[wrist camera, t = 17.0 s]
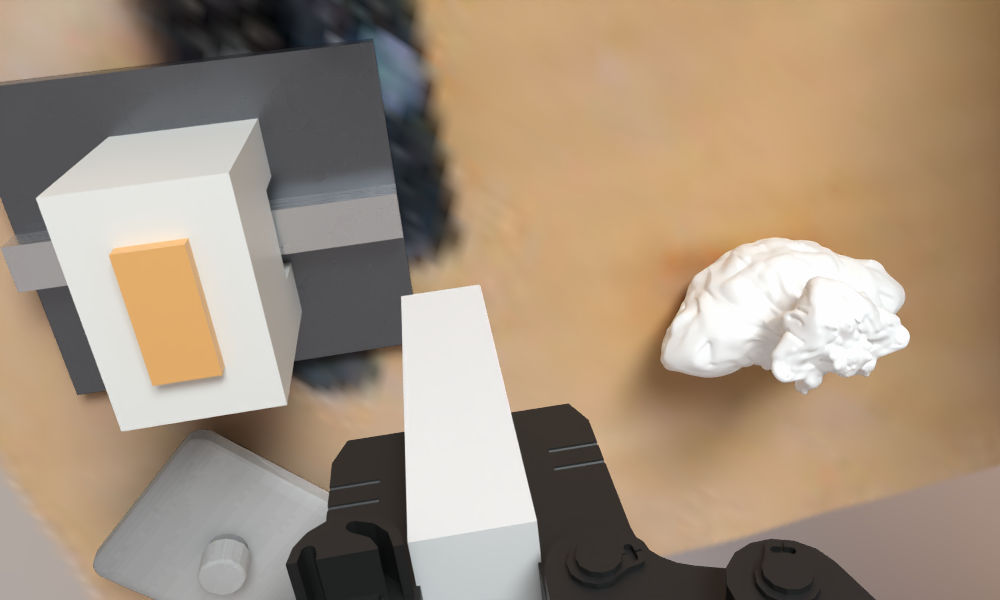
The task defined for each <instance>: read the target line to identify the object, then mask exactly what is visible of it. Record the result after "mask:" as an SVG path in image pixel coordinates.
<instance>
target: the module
mask: <svg viewBox="0 0 1000 600" xmlns="http://www.w3.org/2000/svg"><path fill="white" fill-rule="evenodd" d="M270 179H271V173H270V168H269V164H268V160H267V155H266V151H265V146H264V142H263V138H262V133H261V129H260V124H259V120H258V118H257V119H249V120H241V121H233V122H225V123H217V124H209V125H201V126H193V127H185V128H177V129H169V130H161V131H153V132H145V133H137V134H129V135H121V136H113V137H108V138H107V139H105V140H104V141H103V142H102V143H101V144H99V145H98V146H97V147H96V148H95V149H94V150H92V151H91V152H90V153H89V154H88V155H86V156H85V157H84V158H83V159H82V160H80V161H79V162H78V163H77V164H76V165H75V166H73V167H72V168H71V169H70V170H69V171H67V172H66V173H65V174H64V175H63V176H61V177H60V178H59V179H58V180H57V181H55V182H54V183H53V184H52V185H51V186H50V187H48V188H47V189H46V190H45V191H44V192H42V193H41V194H40V195H39V196H38V197H36V200H37V203H38V206H39V208H40V211H41V214H42V217H43V219H44V222H45V225H46V227H47V230H48V233H49V236H50V238H51V241H52V244H53V246H54V249H55V252H56V255H57V257H58V260H59V263H60V265H61V268H62V271H63V274H64V276H65V279H66V282H67V285H68V287H69V290H70V293H71V295H72V298H73V301H74V304H75V306H76V309H77V312H78V314H79V317H80V320H81V323H82V325H83V328H84V331H85V333H86V336H87V339H88V342H89V344H90V347H91V350H92V353H93V355H94V358H95V361H96V363H97V366H98V369H99V372H100V374H101V377H102V380H103V382H104V385H105V388H106V391H107V393H108V396H109V399H110V401H111V404H112V407H113V410H114V412H115V415H116V418H117V421H118V423H119V426H120V429H121V431H128V430H134V429H141V428H147V427H153V426H159V425H165V424H172V423H178V422H184V421H190V420H197V419H203V418H209V417H215V416H222V415H228V414H234V413H240V412H246V411H253V410H259V409H265V408H271V407H278V406H284V405H287V402H288V396H289V390H290V384H291V377H292V371H293V365H294V358H295V352H296V346H297V339H298V333H299V327H300V321H301V314H302V309H301V305H300V300H299V296H298V292H297V287H296V283H295V278H294V274H293V270H292V265H291V262H287V263H283V261H282V257H281V252H280V248H279V244H278V239H277V235H276V231H275V226H274V222H273V218H272V213H271V209H270V205H269V200H268V196H267V192H266V190H267V187H268V184H269V181H270Z"/></svg>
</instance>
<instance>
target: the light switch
mask: <svg viewBox="0 0 1000 600" xmlns="http://www.w3.org/2000/svg"><path fill="white" fill-rule="evenodd" d="M328 497H329V493H328V492H326V491H325V490H323V489H321V488H319V487H317V486H315V485H313V484H312V483H310V482H308V481H306V480H304V479H302V478H300V477H298V476H296V475H294V474H293V473H291V472H289V471H287V470H285V469H283V468H281V467H279V466H277V465H276V464H274V463H272V462H270V461H268V460H266V459H264V458H262V457H260V456H259V455H257V454H255V453H253V452H251V451H249V450H247V449H245V448H243V447H241V446H239V445H237V444H235V443H233V442H232V441H230V440H228V439H226V438H224V437H222V436H220V435H219V434H217V433H215V432H213V431H211V430H205V429H200V430H197V431H194V432H190V433H189V435H188V436H187V437H186V438H185V440H184V441H183V442H182V444H181V445H180V446H179V447H178V449H177V450H176V451H175V452H174V454H173V455H172V456H171V457H170V459H169V460H168V461H167V463H166V464H165V465H164V466H163V468H162V469H161V470H160V471H159V473H158V474H157V475H156V477H155V478H154V479H153V480H152V482H151V483H150V484H149V485H148V487H147V488H146V489H145V490H144V492H143V493H142V494H141V496H140V497H139V498H138V499H137V501H136V502H135V503H134V504H133V506H132V507H131V508H130V510H129V511H128V512H127V513H126V515H125V516H124V517H123V518H122V520H121V521H120V522H119V523H118V525H117V526H116V527H115V529H114V530H113V531H112V532H111V534H110V535H109V536H108V537H107V539H106V540H105V541H104V543H103V544H102V545H101V546H100V548H99V549H98V550H97V553H96V556H95V559H94V563H93V567H94V569H95V571H96V572H97V573H98V574H99V575H100V576H102V577H104V578H106V579H108V580H111V581H113V582H115V583H117V584H119V585H122V586H124V587H126V588H129V589H131V590H133V591H136V592H138V593H140V594H143V595H145V596H147V597H150V598H152V599H155V600H296V598H295V594H294V591H293V588H292V585H291V581H290V578H289V575H288V571H287V568H286V562H287V560H288V557H289V555H290V553H291V550H292V548H293V547H294V546H295V545H296V544H297V543H298V541H299V540H300V539H301V538H302V537H303V536H304V535H305V534H306V533H307V532H309V531H310V530H312V529H314V528H316V527H317V526H319V525H321V524H322V523H324V522H326V516H327V511H328Z"/></svg>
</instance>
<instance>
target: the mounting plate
mask: <svg viewBox="0 0 1000 600" xmlns="http://www.w3.org/2000/svg"><path fill="white" fill-rule="evenodd" d="M257 118H258V120H259V124H260V129H261V133H262V138H263V142H264V146H265V151H266V155H267V160H268V164H269V168H270V173H271V179H270V181H269V184H268V187H267V190H266V192H267V196H268V200H269V205H270V209H271V213H272V218H273V222H274V226H275V231H276V235H277V239H278V244H279V248H280V252H281V257H282V261H283V263H287V262H291V265H292V270H293V274H294V278H295V283H296V287H297V292H298V296H299V300H300V305H301V309H302V314H301V321H300V327H299V333H298V339H297V346H296V352H295V358H294V361H299V360H305V359H312V358H318V357H325V356H331V355H337V354H344V353H350V352H357V351H363V350H370V349H376V348H382V347H389V346H395V345H402V310H401V296H407V295H413V292H412V286H411V279H410V273H409V267H408V260H407V254H406V248H405V241H404V235H403V228H402V222H401V216H400V209H399V203H398V196H397V190H396V184H395V177H394V171H393V165H392V158H391V152H390V145H389V139H388V133H387V126H386V120H385V113H384V107H383V101H382V94H381V88H380V82H379V75H378V69H377V62H376V56H375V50H374V43H373V39H365V40H356V41H348V42H339V43H331V44H322V45H314V46H305V47H297V48H288V49H280V50H271V51H263V52H254V53H246V54H237V55H229V56H220V57H211V58H203V59H194V60H186V61H177V62H169V63H160V64H152V65H143V66H135V67H126V68H118V69H109V70H101V71H92V72H84V73H75V74H67V75H58V76H50V77H41V78H33V79H24V80H16V81H7V82H0V197H1V199H2V202H3V205H4V207H5V210H6V212H7V215H8V217H9V220H10V223H11V225H12V228H13V230H14V233H15V235H14V236H13V237H12V238H11V239H10V240H9V241H8V242H7V243H6V244H4V245H3V246H2V247H1V250H2V253H3V255H4V258H5V260H6V263H7V265H8V268H9V270H10V273H11V275H12V278H13V280H14V282H15V285H16V287H17V290H18V292H25V291H32V290H37V292H38V295H39V297H40V300H41V302H42V305H43V308H44V310H45V313H46V315H47V318H48V320H49V323H50V326H51V328H52V331H53V333H54V336H55V338H56V341H57V344H58V346H59V349H60V351H61V354H62V356H63V359H64V362H65V364H66V367H67V369H68V372H69V375H70V377H71V380H72V382H73V385H74V387H75V390H76V393H77V395H80V394H87V393H93V392H100V391H106V388H105V385H104V382H103V380H102V377H101V374H100V372H99V369H98V366H97V363H96V361H95V358H94V355H93V353H92V350H91V347H90V344H89V342H88V339H87V336H86V333H85V331H84V328H83V325H82V323H81V320H80V317H79V314H78V312H77V309H76V306H75V304H74V301H73V298H72V295H71V293H70V290H69V287H68V285H67V282H66V279H65V276H64V274H63V271H62V268H61V265H60V263H59V260H58V257H57V255H56V252H55V249H54V246H53V244H52V241H51V238H50V236H49V233H48V230H47V227H46V225H45V222H44V219H43V217H42V214H41V211H40V208H39V206H38V203H37V200H36V197H38V196H39V195H40V194H41V193H42V192H44V191H45V190H46V189H47V188H48V187H50V186H51V185H52V184H53V183H54V182H55V181H57V180H58V179H59V178H60V177H61V176H63V175H64V174H65V173H66V172H67V171H69V170H70V169H71V168H72V167H73V166H75V165H76V164H77V163H78V162H79V161H80V160H82V159H83V158H84V157H85V156H86V155H88V154H89V153H90V152H91V151H92V150H94V149H95V148H96V147H97V146H98V145H99V144H101V143H102V142H103V141H104V140H105V139H107V138H108V137H113V136H121V135H129V134H137V133H145V132H153V131H161V130H169V129H177V128H185V127H193V126H201V125H209V124H217V123H225V122H233V121H241V120H249V119H257Z"/></svg>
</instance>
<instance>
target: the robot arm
mask: <svg viewBox="0 0 1000 600" xmlns="http://www.w3.org/2000/svg"><path fill="white" fill-rule="evenodd" d="M401 310H402V349H403V387H404V425H405V432H400V433H394V434H388V435H381V436H375V437H369V438H363V439H356V440H350V441H347V443H346V444H345V445H344V447H343V448H342V450H341V451H340V453H339V454H338V456H337V457H336V459H335V460H334V461H333V463H332V469H331V479H330V492H329V497H328V511H327V516H326V522H324V523H322V524H321V525H319V526H317V527H316V528H314V529H312V530H310V531H309V532H307V533H306V534H305V535H304V536H303V537H302V538H301V539H300V540H299V541H298V543H297V544H296V545H295V546H294V547H293V548H292V550H291V553H290V555H289V557H288V560H287V562H286V568H287V571H288V575H289V578H290V581H291V585H292V588H293V591H294V594H295V598H296V600H875V599H874V598H873V597H872V596H871V595H870V594H869V593H868V592H867V591H866V590H865V589H864V588H862V586H860V585H859V584H858V583H857V582H856V581H855V580H854V579H853V578H852V577H851V576H850V575H849V574H848V573H847V572H846V571H845V570H843V569H842V568H841V567H840V566H839V565H838V564H837V563H836V562H835V561H833V560H832V559H830V558H829V557H828V556H826V555H824V554H823V553H822V552H820V551H819V550H817V549H816V548H813V547H810V546H807V545H804V544H801V543H799V542H796V541H790V540H777V539H769V540H763V541H759V542H754V543H750V544H748V545H747V546H745V547H743V548H742V549H740V550H739V551H737V552H735V553H734V555H733V557H732V558H731V560H730V562H729V564H728V565H727V567H726V568H715V567H704V566H693V565H687V564H681V563H676V562H673V561H671V560H668V559H665V558H663V557H660V556H659V555H657V554H655V553H654V552H652V551H650V550H649V549H648V547H647V546H646V544H645V543H644V542H643V541H642V540H640V539H638V538H637V537H636V536H635V534H634V533H633V531H632V529H631V527H630V525H629V522H628V520H627V517H626V515H625V512H624V510H623V507H622V504H621V502H620V499H619V497H618V494H617V492H616V489H615V487H614V484H613V481H612V479H611V476H610V474H609V471H608V469H607V466H606V464H605V463H604V458H603V456H602V453H601V451H600V448H599V446H598V445H597V441H596V438H595V435H594V433H593V430H592V428H591V425H590V423H589V420H588V419H587V418H585V417H584V416H583V415H582V414H581V413H579V412H578V411H577V410H576V409H574V408H573V407H572V406H571V405H570V404H562V405H556V406H550V407H543V408H537V409H531V410H525V411H518V412H512V413H511V411H510V407H509V403H508V399H507V395H506V390H505V386H504V382H503V378H502V374H501V370H500V366H499V361H498V357H497V353H496V349H495V345H494V341H493V337H492V332H491V328H490V324H489V320H488V316H487V312H486V308H485V303H484V299H483V295H482V291H481V287H480V285H474V286H467V287H461V288H454V289H447V290H440V291H434V292H427V293H420V294H413V295H407V296H401Z"/></svg>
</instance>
